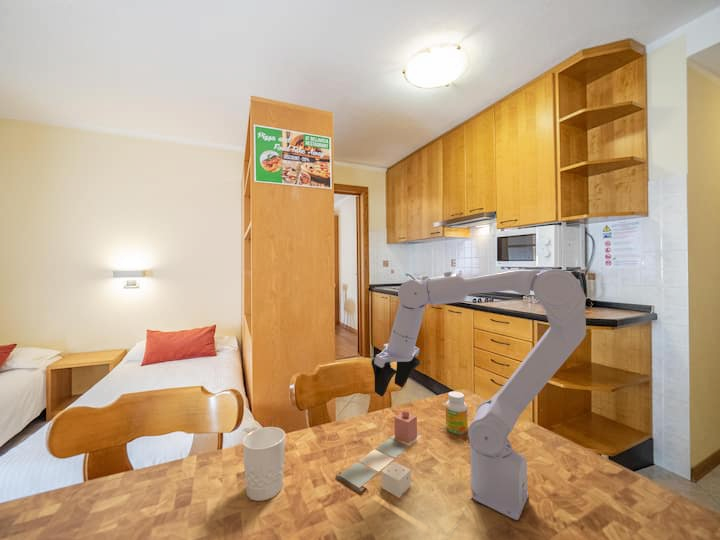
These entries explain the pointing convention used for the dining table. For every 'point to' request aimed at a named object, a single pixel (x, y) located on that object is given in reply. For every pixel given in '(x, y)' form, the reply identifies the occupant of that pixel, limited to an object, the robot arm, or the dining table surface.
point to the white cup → (264, 462)
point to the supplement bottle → (456, 413)
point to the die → (396, 479)
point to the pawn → (405, 426)
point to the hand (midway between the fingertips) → (389, 389)
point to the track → (373, 463)
